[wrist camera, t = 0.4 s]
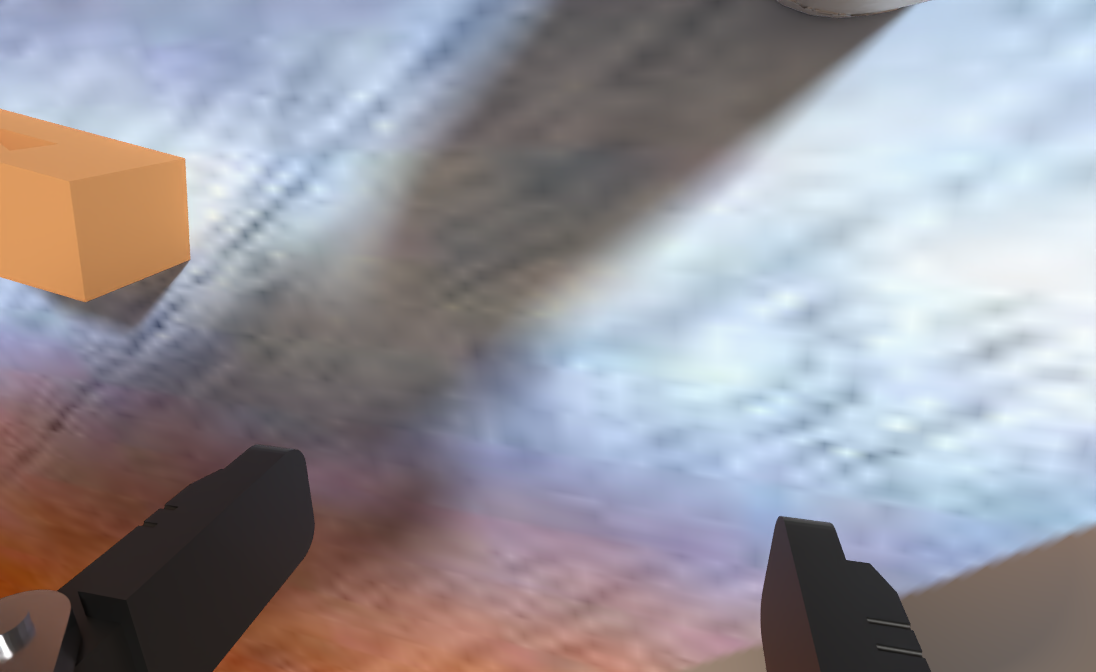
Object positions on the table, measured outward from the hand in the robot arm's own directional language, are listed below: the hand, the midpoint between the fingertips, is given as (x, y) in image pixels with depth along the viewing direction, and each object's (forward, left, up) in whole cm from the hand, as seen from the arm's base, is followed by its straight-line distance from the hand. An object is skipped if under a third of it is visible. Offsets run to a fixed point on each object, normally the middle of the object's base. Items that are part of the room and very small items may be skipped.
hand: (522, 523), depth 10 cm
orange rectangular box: (+4, -26, -18) cm, 31 cm away
